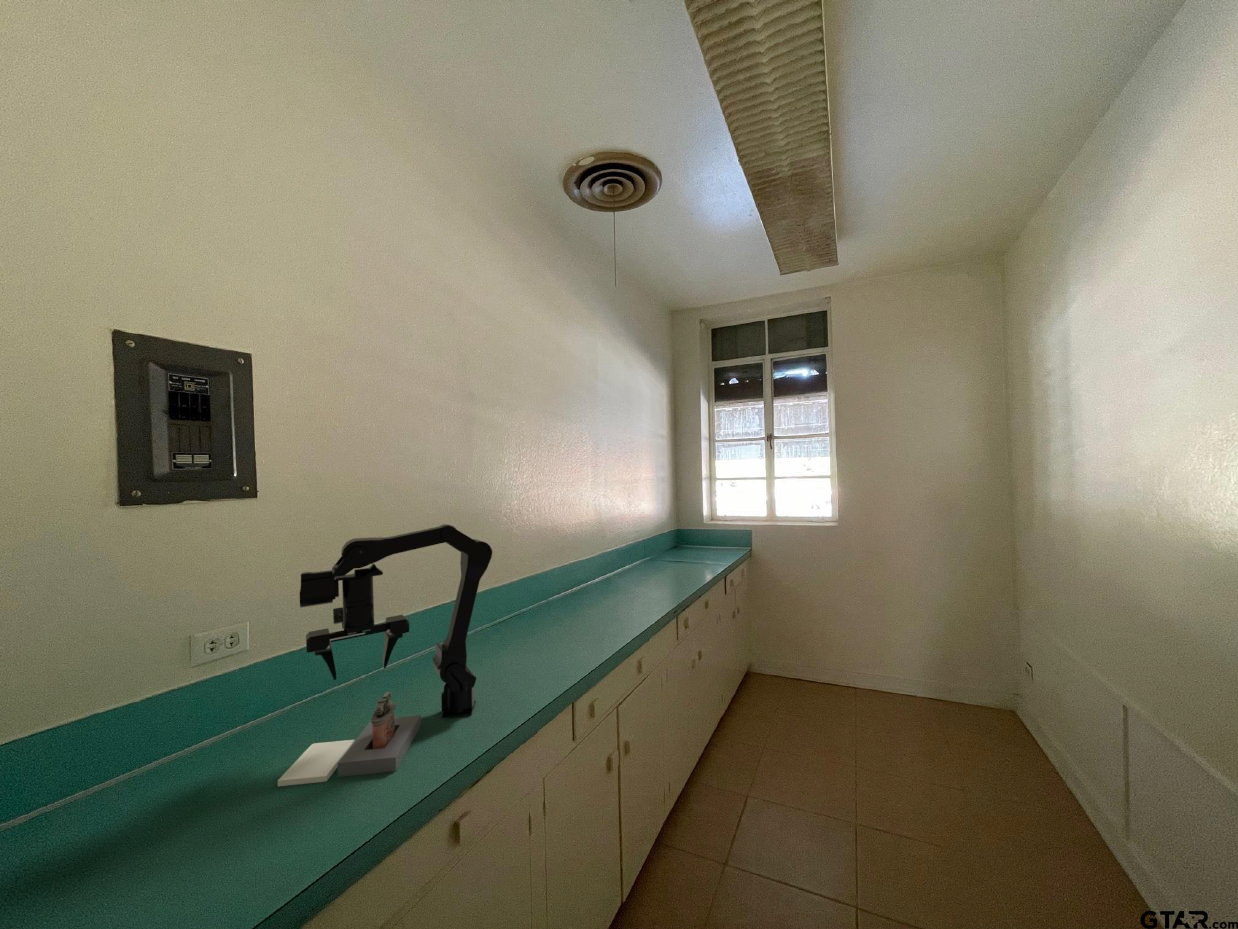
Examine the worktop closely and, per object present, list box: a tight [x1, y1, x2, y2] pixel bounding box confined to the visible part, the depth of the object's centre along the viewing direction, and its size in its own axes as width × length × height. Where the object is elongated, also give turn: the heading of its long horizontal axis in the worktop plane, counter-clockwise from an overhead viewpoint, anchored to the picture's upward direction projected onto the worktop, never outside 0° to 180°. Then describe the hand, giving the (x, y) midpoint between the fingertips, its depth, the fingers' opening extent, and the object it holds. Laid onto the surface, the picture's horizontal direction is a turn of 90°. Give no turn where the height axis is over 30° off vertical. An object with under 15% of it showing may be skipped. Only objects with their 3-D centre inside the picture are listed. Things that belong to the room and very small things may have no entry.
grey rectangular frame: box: [337, 714, 422, 778], centre depth 94 cm, size 10×16×2 cm, turn 8°
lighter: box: [370, 691, 396, 749], centre depth 95 cm, size 8×3×10 cm, turn 9°
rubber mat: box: [277, 739, 356, 787], centre depth 90 cm, size 8×12×1 cm, turn 8°
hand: (360, 673), depth 100 cm, fingers open, 9 cm apart
